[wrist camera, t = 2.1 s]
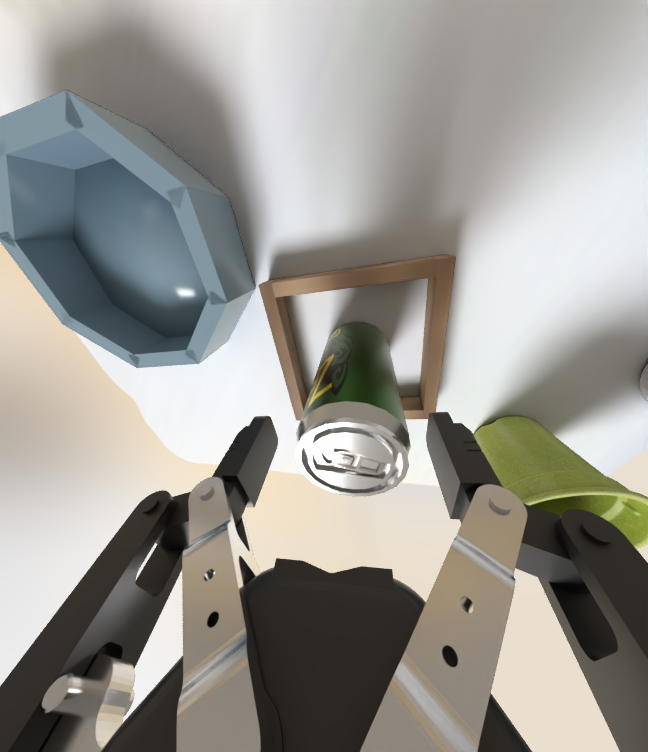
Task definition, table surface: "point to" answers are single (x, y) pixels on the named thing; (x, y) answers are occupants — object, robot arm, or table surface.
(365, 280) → the walnut frame
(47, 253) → the slate bowl
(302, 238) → the table surface
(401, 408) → the beer can
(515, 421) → the plant pot
